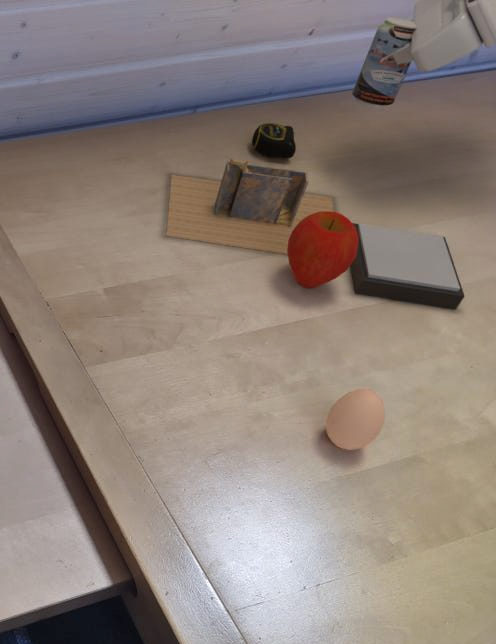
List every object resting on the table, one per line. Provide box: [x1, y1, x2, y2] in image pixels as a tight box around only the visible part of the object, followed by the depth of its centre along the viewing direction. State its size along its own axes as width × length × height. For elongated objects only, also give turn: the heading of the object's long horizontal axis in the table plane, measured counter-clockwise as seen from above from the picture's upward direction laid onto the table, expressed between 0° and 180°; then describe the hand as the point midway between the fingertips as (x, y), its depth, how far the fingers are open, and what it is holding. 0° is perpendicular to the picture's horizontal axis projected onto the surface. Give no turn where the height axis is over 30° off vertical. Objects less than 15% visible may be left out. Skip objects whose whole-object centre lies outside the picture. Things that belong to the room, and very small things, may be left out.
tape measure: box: [251, 122, 297, 159], centre depth 119 cm, size 7×7×4 cm
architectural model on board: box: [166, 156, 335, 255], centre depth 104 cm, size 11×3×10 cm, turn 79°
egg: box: [325, 388, 386, 451], centre depth 76 cm, size 5×5×8 cm
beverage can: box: [352, 17, 418, 109], centre depth 104 cm, size 6×7×12 cm
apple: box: [287, 211, 359, 290], centre depth 93 cm, size 9×8×11 cm
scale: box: [350, 222, 466, 310], centre depth 99 cm, size 13×13×3 cm
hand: (383, 55), depth 105 cm, fingers closed on beverage can, 5 cm apart
